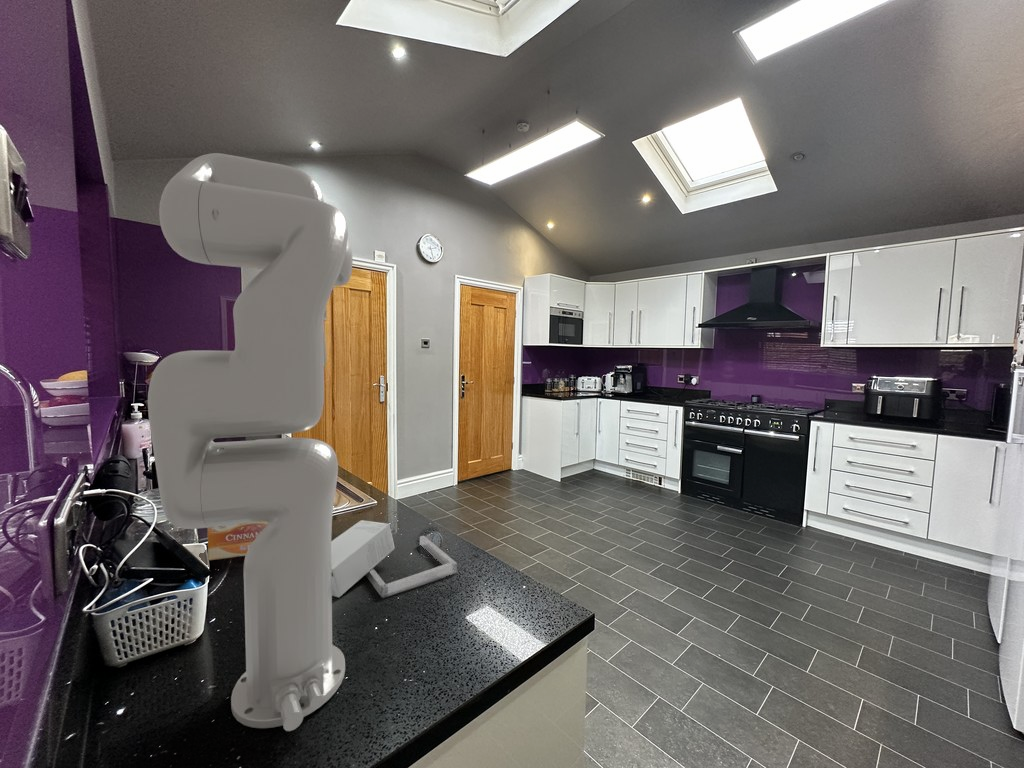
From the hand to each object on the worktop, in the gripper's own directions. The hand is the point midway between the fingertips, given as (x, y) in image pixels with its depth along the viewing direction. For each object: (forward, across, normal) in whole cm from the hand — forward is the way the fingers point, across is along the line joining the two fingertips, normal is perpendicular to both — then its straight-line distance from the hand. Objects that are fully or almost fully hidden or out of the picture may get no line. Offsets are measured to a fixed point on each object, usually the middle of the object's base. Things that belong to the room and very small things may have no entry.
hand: (308, 393), depth 86 cm
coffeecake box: (+34, +5, +10) cm, 36 cm away
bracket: (+34, -20, -14) cm, 42 cm away
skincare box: (+28, -14, -10) cm, 33 cm away
